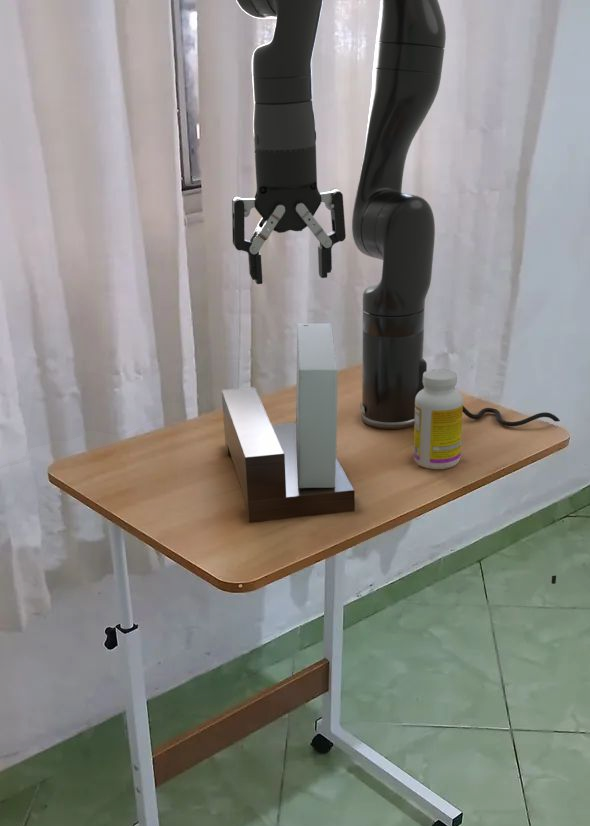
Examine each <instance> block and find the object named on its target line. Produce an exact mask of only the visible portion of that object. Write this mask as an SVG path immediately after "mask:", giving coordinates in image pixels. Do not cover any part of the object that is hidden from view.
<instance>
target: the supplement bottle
mask: <svg viewBox="0 0 590 826" xmlns="http://www.w3.org/2000/svg"><path fill="white" fill-rule="evenodd" d="M422 382H423V385H424V389H422V390H421V391H419V392H418V393H417V395H416V398H415V425H413V427H414V431H413V460H414V462H415V463H416V465H418V466H420V467H421V468H425V469H429V470H446V469H450V468H453V467H455V466H456V465H458V464H459V462H460V461H461V449H462V433H463V431H462V430H463V413H464V412H463V406H464V397H463V395H462V393H461V392H460V390H457V389H456V385H457V383H458V373H457V371H456V372H455V371H454V370H451V369H447V368H434V369H428V370H427V371H426V372H424V373H423V381H422Z"/></svg>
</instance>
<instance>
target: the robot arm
mask: <svg viewBox="0 0 590 826" xmlns="http://www.w3.org/2000/svg"><path fill="white" fill-rule="evenodd" d="M235 1H236V3H237V5H238V6H239V8H240V9H241V10H242V11H243V12H244V13H246V14H247V15H248V16H251V17H253V18H256V19H262V20H266V19H267V20H268V19H271V20H272V19H273V20H275V25H274V31H273V35H272V40H271V41H269V42H267V43H265V44H262V45H259V46H258V47H256V49H254V51H253V53H252V56H251V74H252V76H251V77H252V89H253V90H252V92H253V117H252V118H253V119H252V129H253V146H254V149H253V151H254V163H255V164H254V166H255V182H256V191H255V195H254V197H249V198H247V197H246V198H241V197H239V196H238V195H237V196H233V198H232V199H231V221H232V222H231V223H232V225H231V228H232V244H233V246H234V247H235V249H236V251H241V252H246V253H247V256H248V257H247V259H248V273H249V276H250V278H251V280H253V281H254V282H255V283H256V285H262V284H263V281H264V280H263V266H262V265H263V264H262V254H261V252H260V250H261V248H262V247H263V245H264V243H266V241H267V240H268V239H269V238H270V236H271V234H272V233H273V232H277V233H278V234H281V233H287V232H290V231H293V232H302V231H303V230H304V229H306V228H308V230H309V231H310V232H311V233H312V235H314V237H315V238H316V239H317V240H318V242H319V245H317V256H318V257H317V259H318V276H319V277H320V279H327V278H328V274H330V273H331V272H332V270H333V269H332V268H333V261H332V260H333V259H332V257H333V256H332V254H333V253H332V249H333V247H334V245H335V244H337V243H339V242H343V241H345V240H346V236H347V235H346V221H345V206H344V195H343V193H342V192H341V191H340V190H338V189H337V188H335V187H334V188H331V189H330V190H329V191H323V192H320V191H319V189H318V172H317V138H318V135H317V134H318V133H317V130H316V117H315V109H314V102H313V72H312V71H313V70H312V59H313V54H314V49H315V44H316V42H317V41H316V39H317V34H318V29H319V24H320V18H321V14H322V8H323V2H324V0H235ZM377 23H378V24H377V30H376V38H375V46H374V47H375V48H374V57H373V66H372V82H371V83H372V84H371V95H370V104H369V110H368V111H369V112H368V119H367V121H368V122H367V128H366V135H365V143H364V144H365V145H364V150H363V157H362V162H361V168H360V173H359V178H358V183H357V188H356V193H355V198H354V203H353V210H352V217H351V218H352V219H351V233H352V239H353V241H354V244H355V247H356V248H357V249H358V251H359V252H361V253H362V254H363V255H366V256H367V257H370V258H374V259H378V260H381V261H382V270H381V272H382V273H381V278H380V281H379V282H377V283H373V284H371V285H368V286H367V287H365V289H364V290H363V293H362V363H361V364H362V365H361V367H362V371H361V372H362V376H361V377H362V382H361V383H362V384H361V386H362V387H361V389H362V391H361V393H362V396H361V397H362V398H361V401H362V402H359V408H360V410H361V421H362V422H363V423H364V424H366V425H367V426H370V427H373V428H376V429H377V428H378V429H385V430H397V429H405V428H410V427H414V425H415V398H416V395H417V393H418V392H419V391H421V390H422V389H424V385H423V382H422V381H423V373H424V372H426V371H428V370H427V368H428V364H427V361H426V360H425V359H424V337H425V335H424V334H425V309H426V308H425V307H426V298H427V295H428V293H429V290H430V287H431V282H432V274H433V261H434V252H435V251H434V250H435V238H436V226H435V224H436V223H435V217H434V212H433V210H432V206H431V205H430V204H429V202H428V201H427V200H426V199H425V198H423V197H421V196H419V195H415V194H410V193H404V192H402V190H403V188H402V187H403V178H404V171H405V166H406V165H405V164H406V161H407V156H408V153H409V150H410V147H411V145H412V142H413V140H414V138H415V136H416V135H417V133H418V132H419V130H420V128H421V126H422V124H423V123H424V121H425V119H426V117H427V115H428V113H429V111H430V110H431V108H432V106H433V104H434V102H435V99H436V97H437V95H438V93H439V90H440V89H439V88H440V85H441V79H442V72H443V70H442V69H443V64H444V63H443V62H444V56H445V47H446V39H447V36H446V34H447V31H446V25H445V19H444V16H443V12H442V9H441V6H440V2H439V0H380V3H379V16H378V22H377ZM322 203H324V206H325V208H326V209H328V210H329V211H330V220H331V231H329V232H327V233H326V231H325V230H324V228H323V226H321V225H320V223H319V222H318V220H317V219H316V218H315V217H314V216H315V214H316V212H317V211H318V209H319V207H320V206H321V204H322ZM253 208H254V209H255V210H256V211H257V213H258V215H260V216H261V218H260V219H259V221H258V223H257V225H256V226H255V229H254V231H253V233H252V235H251V236H250V238H249V239H246V237H245V235H246V234H245V233H246V232H245V218H248V217H249V216H250V213H251V210H252V209H253ZM462 413H463V414H464V415H465V416H466V417H468V418H470V419H472V420H478V419H480V418H482V416H483V415H484V414H486V413H492V414H494V415H495V417H496V421H497V422H498V423H499V425H502V426H505V427H519V426H523V425H525V424H526V425H527V424H528V423H530V422H533V421H536V420H537V419H541V418H549V419H551V420H552V421H554V422H560V418H559V417H557V416H556V415H555V414H553V413H551V412H545V411H544V412H539V413H535V414H533V415H530V416H528V417H526V418H524V419H520V420H517V421H506V420H505V419H503V418H502V416H501V415H502V414H501V412H500V411H499V410H498V409H496V408H495V407H494V408H493V407H485V408H482V409H481V410H480V411H479V412H478V413H476V414H474V413H471V412H470V411H469V410H468V408H466V407H465V406H464V405H463V412H462ZM556 583H557V575H551V584H552V585H555V584H556Z"/></svg>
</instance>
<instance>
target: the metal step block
mask: <svg viewBox="0 0 590 826" xmlns="http://www.w3.org/2000/svg"><path fill="white" fill-rule="evenodd" d="M220 391H221V402H222V417H223V430H224V443H225V451H226V453H227V456H231V460H232V463H233V467H234V469H235V472H236V476H237V479H238V481H239V484H240V488H241V491H242V495H243V497H244V500H245V513H246V515H247V519H248V523H258V522H266V521H275V520H276V521H277V520H285V519H293V518H295V519H296V518H302V517H303V518H304V517H312V516H322V515H331V514H339V513H348V512H350V513H351V512H355V511H356V510H355V509H356V499H355V498H356V497H355V495H356V494H355V493H356V490H355V489H354V486H353V485H352V482H351V481H350V479H349V478H348V476H347V474H346V472H345V470H344V468H343V466H342V465H341V463H340V461H339V458H338V457H337V456H336V471H335V487H332V488H298V474H297V443H296V421H295V422H283V423H273V424H272V422H271V420H270V418H269V415H268V413H267V411H266V409H265V408H266V407H264V403H263V401H262V399H261V397H260V395H259V392H258V390H257V388H256V386H250V387H239V388H238V387H237V388H227V389H226V388H225V389H221V390H220Z"/></svg>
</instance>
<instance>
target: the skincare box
mask: <svg viewBox="0 0 590 826" xmlns="http://www.w3.org/2000/svg"><path fill="white" fill-rule="evenodd" d="M336 354H337V353H336V347H335V340H334V334H333V327H332V323H297V324H296V385H295V387H296V389H295V390H296V391H295V392H296V394H295V395H296V396H295V401H296V402H295V403H296V404H295V422H296V443H297V474H298V488H332V487H335V471H336V457H337V441H338V440H337V439H338V438H337V437H338V390H339V389H338V387H339V385H338V384H339V383H338V382H339V381H338V371H339V367H338V361H337V355H336Z"/></svg>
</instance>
